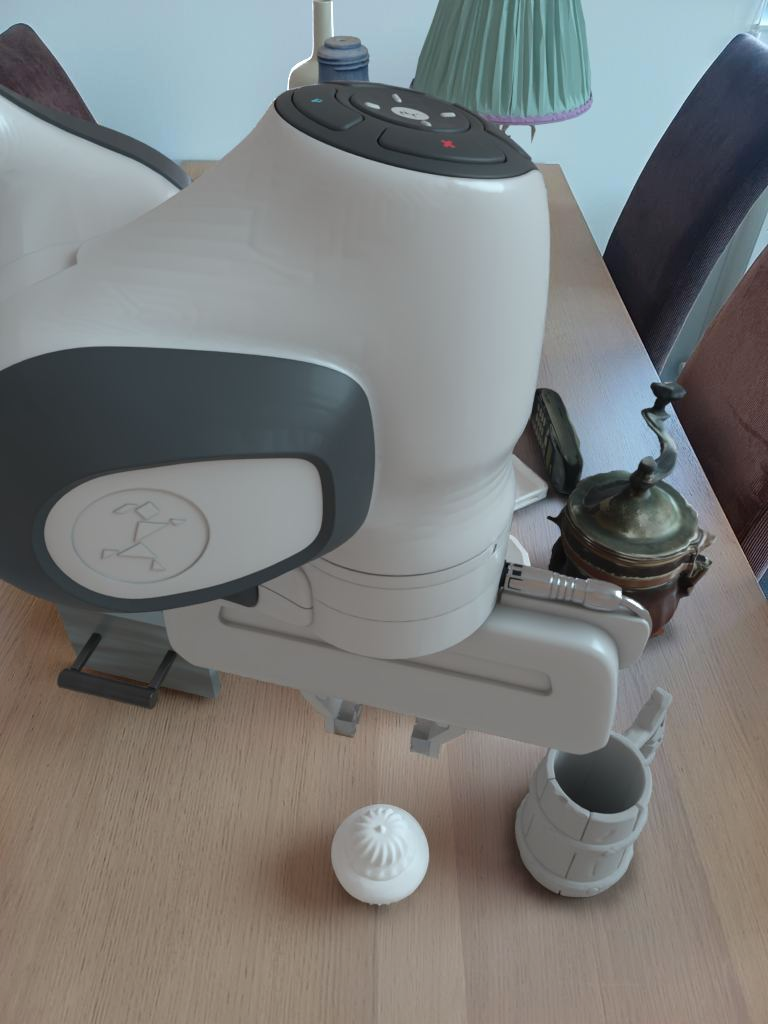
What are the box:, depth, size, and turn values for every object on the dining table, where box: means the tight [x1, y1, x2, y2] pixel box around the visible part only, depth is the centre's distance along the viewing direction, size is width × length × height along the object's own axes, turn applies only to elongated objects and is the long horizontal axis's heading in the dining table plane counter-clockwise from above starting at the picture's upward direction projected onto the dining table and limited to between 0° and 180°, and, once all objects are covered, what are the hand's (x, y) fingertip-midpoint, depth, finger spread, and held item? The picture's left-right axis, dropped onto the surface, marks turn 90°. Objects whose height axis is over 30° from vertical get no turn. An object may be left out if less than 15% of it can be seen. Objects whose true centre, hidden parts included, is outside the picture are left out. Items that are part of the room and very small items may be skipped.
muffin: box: [330, 803, 430, 907], centre depth 50 cm, size 6×6×7 cm
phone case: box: [512, 452, 549, 512], centre depth 83 cm, size 7×1×15 cm
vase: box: [287, 0, 334, 90], centre depth 118 cm, size 14×14×30 cm
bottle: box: [317, 35, 371, 84], centre depth 102 cm, size 10×10×30 cm
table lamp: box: [408, 0, 594, 193], centre depth 98 cm, size 22×22×40 cm
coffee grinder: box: [546, 381, 717, 638], centre depth 65 cm, size 13×15×18 cm
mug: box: [514, 686, 673, 898], centre depth 51 cm, size 8×12×12 cm, turn 133°
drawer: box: [54, 603, 222, 711], centre depth 63 cm, size 19×11×8 cm, turn 166°
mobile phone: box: [529, 387, 584, 496], centre depth 83 cm, size 5×3×15 cm
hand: (385, 734), depth 41 cm, fingers open, 3 cm apart
